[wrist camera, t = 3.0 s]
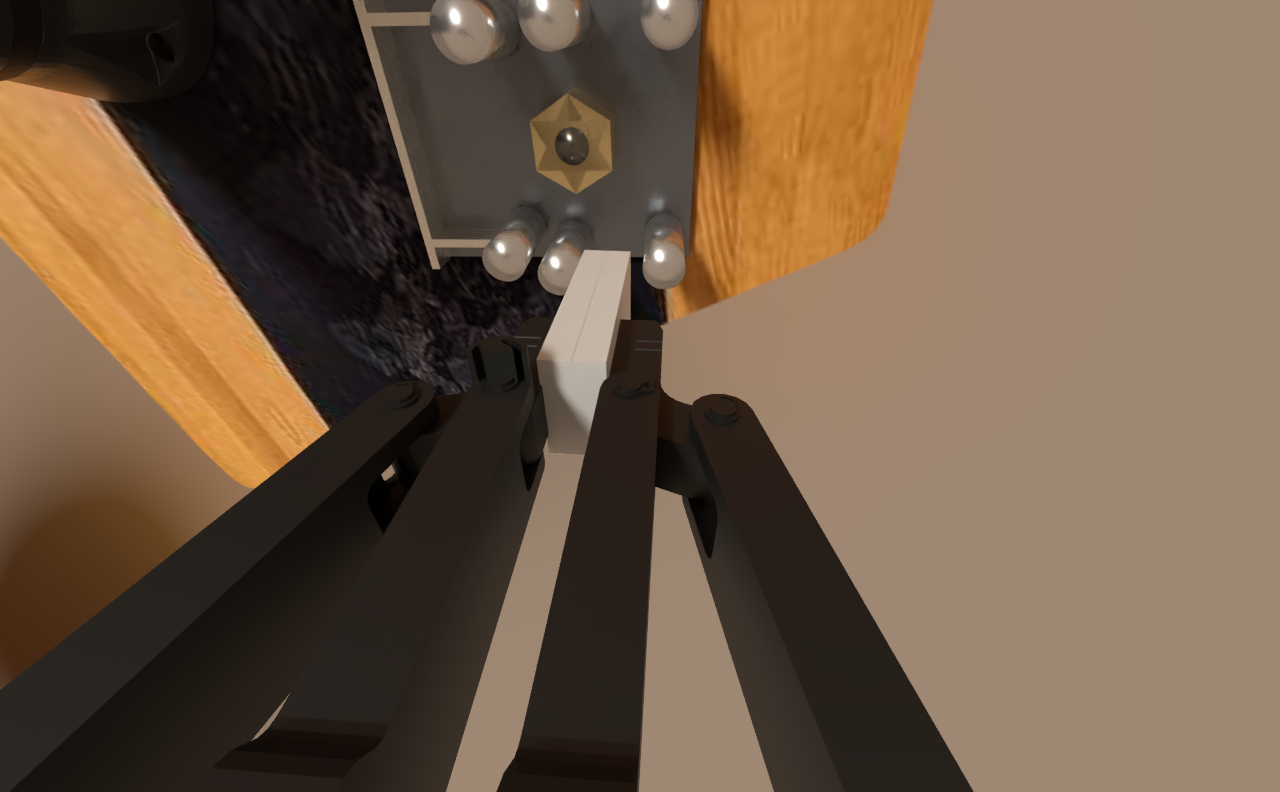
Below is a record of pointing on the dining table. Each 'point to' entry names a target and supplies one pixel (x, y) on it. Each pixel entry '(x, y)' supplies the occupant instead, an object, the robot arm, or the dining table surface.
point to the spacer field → (501, 133)
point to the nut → (574, 141)
